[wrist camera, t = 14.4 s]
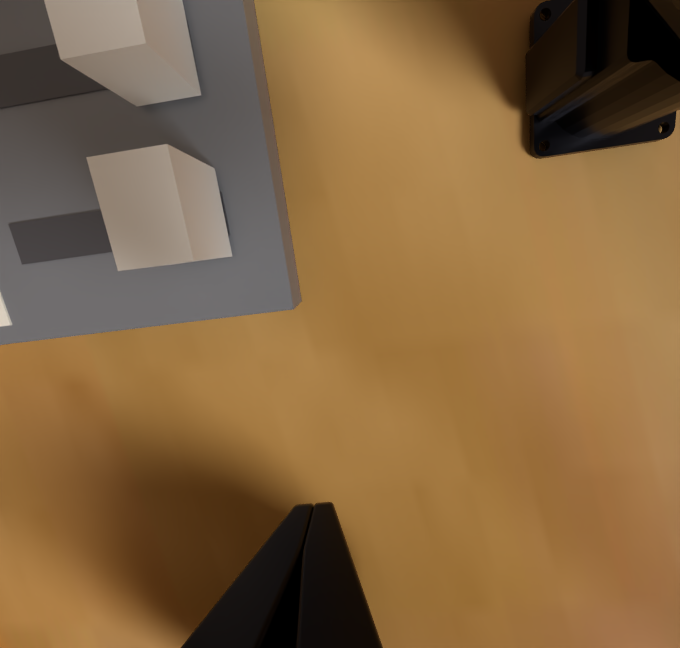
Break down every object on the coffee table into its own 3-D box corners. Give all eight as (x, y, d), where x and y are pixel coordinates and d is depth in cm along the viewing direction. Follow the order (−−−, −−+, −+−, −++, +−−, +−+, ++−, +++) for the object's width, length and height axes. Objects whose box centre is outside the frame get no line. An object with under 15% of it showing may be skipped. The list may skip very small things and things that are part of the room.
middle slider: (179, -14, 14) (110, -113, 10) (201, 95, 15) (146, 43, 11) (111, 0, 14) (18, -91, 10) (136, 106, 15) (60, 59, 11)
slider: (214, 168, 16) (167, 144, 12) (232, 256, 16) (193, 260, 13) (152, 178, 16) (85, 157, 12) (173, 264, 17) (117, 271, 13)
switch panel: (212, -260, 14) (179, -372, 12) (301, 300, 20) (293, 309, 17) (-162, -162, 16) (-266, -243, 13) (18, 335, 21) (-30, 348, 18)
